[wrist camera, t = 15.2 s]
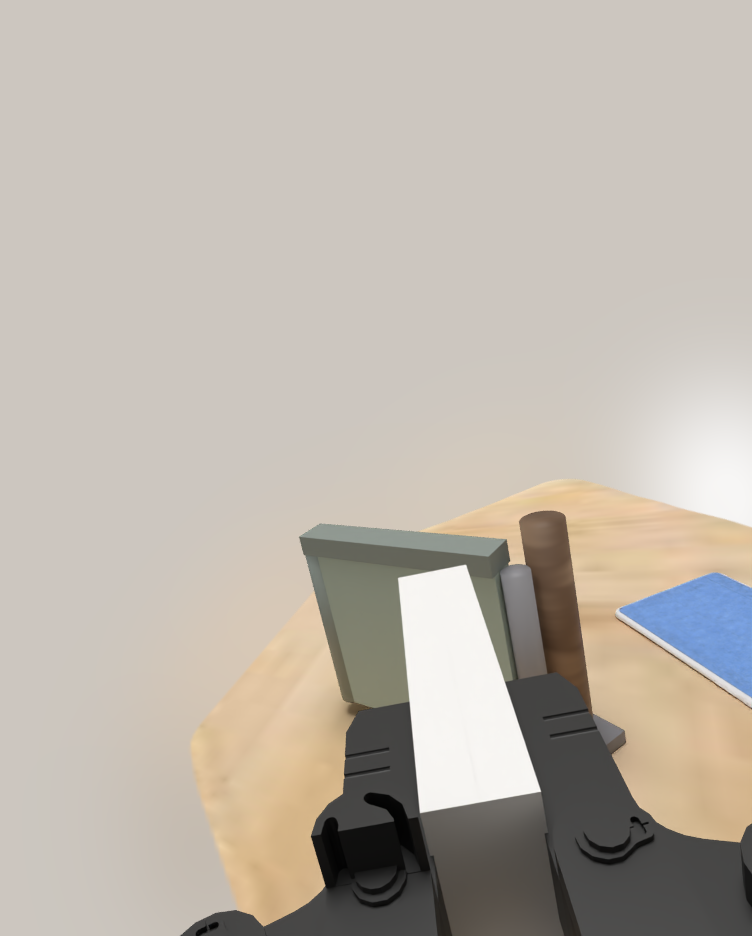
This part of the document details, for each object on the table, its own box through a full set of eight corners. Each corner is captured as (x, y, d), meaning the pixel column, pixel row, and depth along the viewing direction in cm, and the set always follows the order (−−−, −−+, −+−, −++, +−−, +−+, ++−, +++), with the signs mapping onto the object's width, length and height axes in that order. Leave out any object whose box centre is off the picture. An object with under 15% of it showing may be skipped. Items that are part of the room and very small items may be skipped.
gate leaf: (564, 740, 47) (534, 541, 43) (550, 764, 46) (517, 559, 41) (354, 682, 60) (314, 523, 55) (335, 699, 58) (292, 536, 53)
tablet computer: (919, 675, 49) (920, 660, 49) (785, 738, 46) (784, 722, 46) (717, 580, 67) (716, 568, 67) (611, 620, 64) (609, 608, 64)
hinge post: (571, 712, 52) (540, 500, 47) (625, 741, 48) (597, 513, 43) (526, 745, 50) (488, 525, 45) (579, 779, 46) (544, 542, 41)
